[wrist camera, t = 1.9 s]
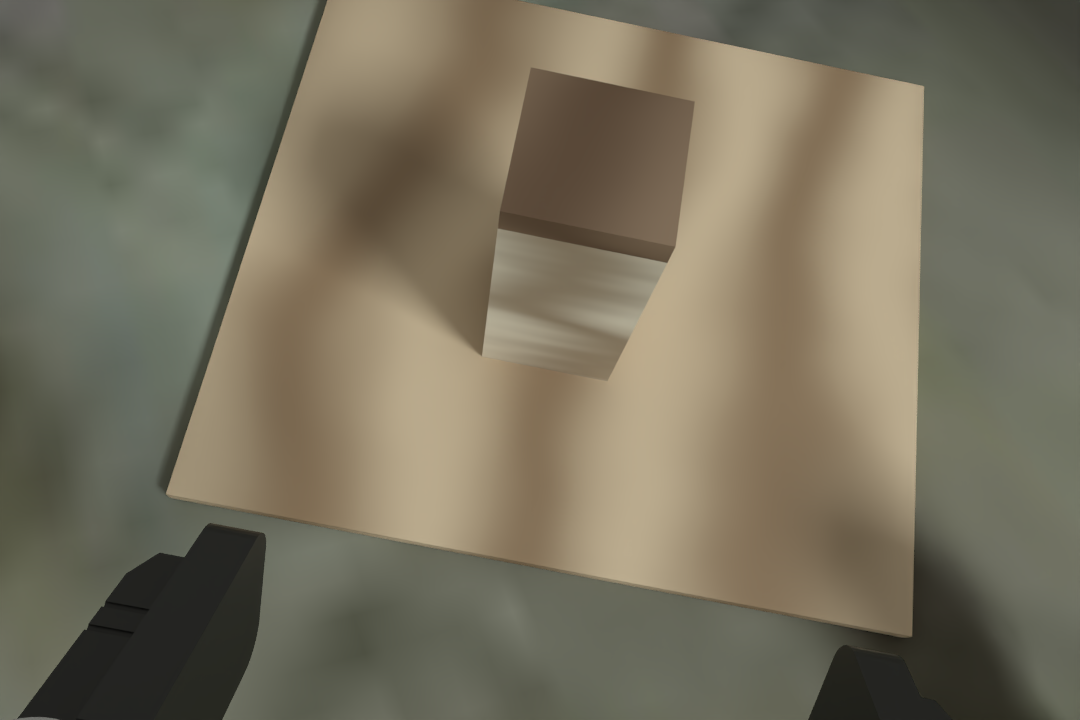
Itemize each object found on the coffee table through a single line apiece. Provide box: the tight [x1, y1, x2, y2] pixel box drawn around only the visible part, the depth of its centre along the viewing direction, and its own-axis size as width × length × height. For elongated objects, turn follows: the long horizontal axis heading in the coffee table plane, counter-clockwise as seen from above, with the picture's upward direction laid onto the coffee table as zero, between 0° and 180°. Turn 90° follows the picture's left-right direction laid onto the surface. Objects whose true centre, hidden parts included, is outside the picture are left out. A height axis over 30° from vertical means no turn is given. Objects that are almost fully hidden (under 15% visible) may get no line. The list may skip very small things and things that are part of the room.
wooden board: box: [166, 0, 924, 638], centre depth 31 cm, size 22×20×1 cm
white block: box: [482, 67, 695, 381], centre depth 26 cm, size 4×4×9 cm
